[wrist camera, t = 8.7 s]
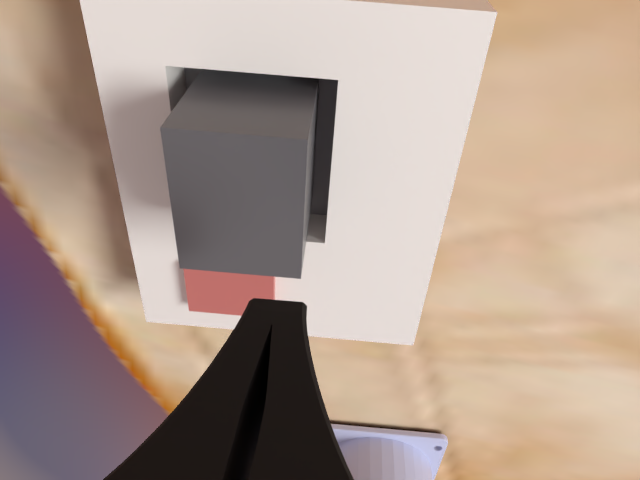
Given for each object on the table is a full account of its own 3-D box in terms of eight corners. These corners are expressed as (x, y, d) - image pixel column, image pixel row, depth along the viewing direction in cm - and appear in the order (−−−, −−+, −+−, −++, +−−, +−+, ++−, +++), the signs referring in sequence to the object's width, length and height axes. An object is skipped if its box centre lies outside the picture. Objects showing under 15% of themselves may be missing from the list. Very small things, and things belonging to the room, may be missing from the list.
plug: (312, 197, 21) (301, 278, 17) (214, 188, 21) (179, 268, 17) (319, 74, 18) (307, 139, 14) (204, 65, 18) (159, 127, 14)
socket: (408, 305, 25) (414, 354, 23) (163, 284, 25) (142, 330, 23) (480, -8, 16) (501, 16, 14) (109, -37, 17) (67, -19, 14)
